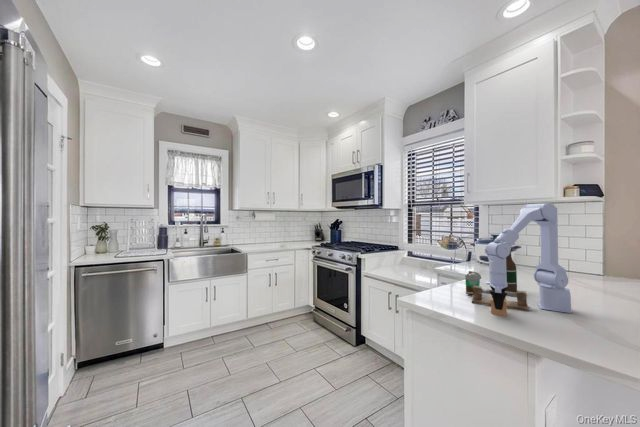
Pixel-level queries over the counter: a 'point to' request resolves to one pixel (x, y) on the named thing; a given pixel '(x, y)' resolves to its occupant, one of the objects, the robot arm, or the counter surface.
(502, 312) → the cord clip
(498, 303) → the robot arm
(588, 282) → the counter surface
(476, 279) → the food container
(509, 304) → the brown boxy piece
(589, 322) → the counter surface
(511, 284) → the beer bottle
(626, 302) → the counter surface
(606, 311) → the counter surface
